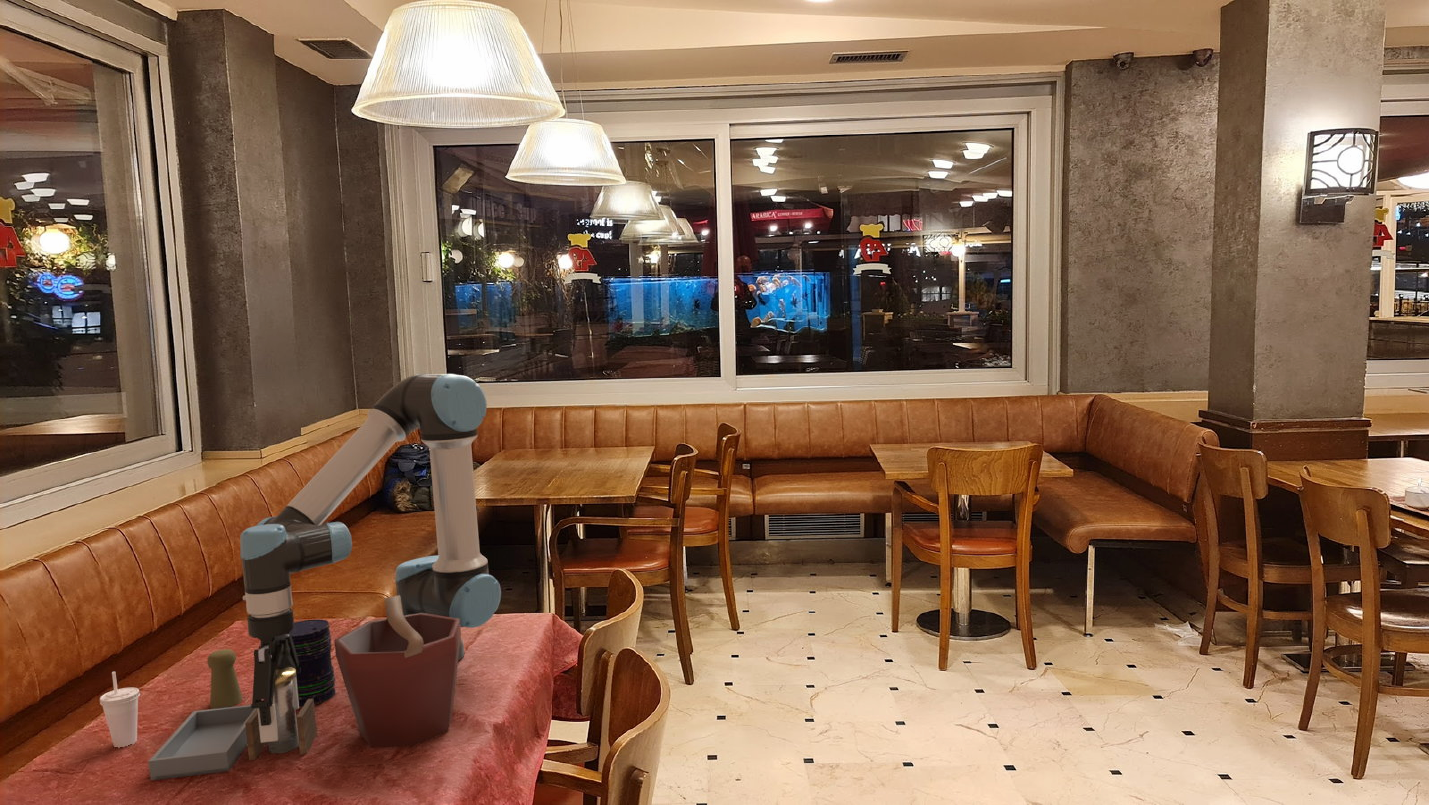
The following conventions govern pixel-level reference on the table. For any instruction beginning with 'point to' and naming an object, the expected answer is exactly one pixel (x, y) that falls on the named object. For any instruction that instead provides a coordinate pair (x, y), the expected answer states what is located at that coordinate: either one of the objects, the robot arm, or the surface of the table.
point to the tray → (203, 744)
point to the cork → (223, 679)
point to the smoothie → (121, 714)
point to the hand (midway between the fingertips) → (280, 724)
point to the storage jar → (313, 661)
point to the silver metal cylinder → (285, 712)
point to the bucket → (401, 675)
